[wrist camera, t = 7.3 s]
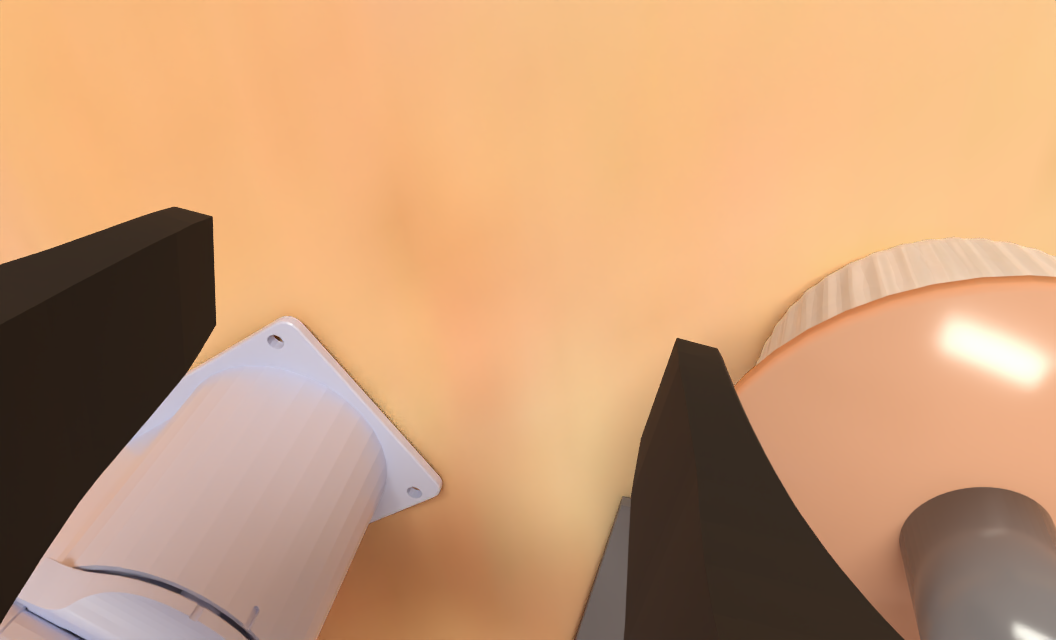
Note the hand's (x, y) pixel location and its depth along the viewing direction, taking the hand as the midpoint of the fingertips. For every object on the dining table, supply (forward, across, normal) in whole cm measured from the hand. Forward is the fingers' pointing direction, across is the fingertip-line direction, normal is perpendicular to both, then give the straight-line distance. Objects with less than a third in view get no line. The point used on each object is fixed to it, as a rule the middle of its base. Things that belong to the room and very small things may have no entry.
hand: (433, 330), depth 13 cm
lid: (+5, -12, +5) cm, 14 cm away
